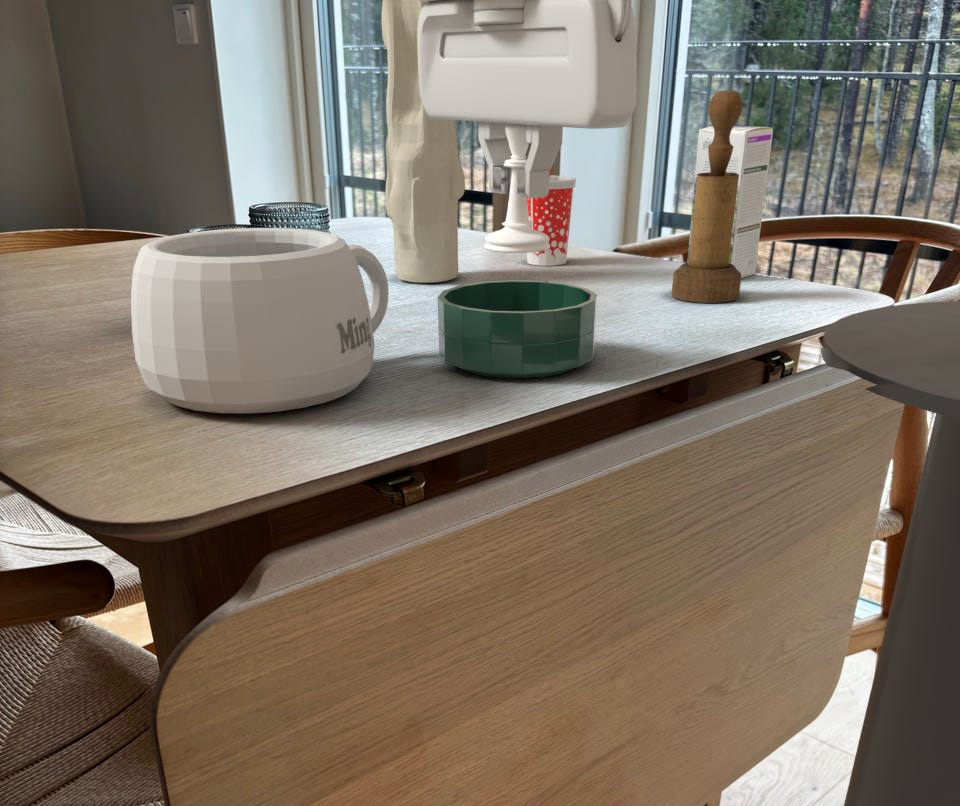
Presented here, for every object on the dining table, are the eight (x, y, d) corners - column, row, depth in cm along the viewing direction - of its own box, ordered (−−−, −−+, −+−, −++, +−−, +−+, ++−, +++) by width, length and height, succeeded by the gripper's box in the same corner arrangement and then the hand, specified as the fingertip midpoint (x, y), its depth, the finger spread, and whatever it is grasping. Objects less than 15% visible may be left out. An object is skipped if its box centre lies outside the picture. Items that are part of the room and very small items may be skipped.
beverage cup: (583, 262, 115) (589, 128, 108) (545, 268, 111) (549, 130, 104) (547, 256, 119) (551, 126, 112) (510, 261, 116) (511, 128, 108)
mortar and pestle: (683, 304, 94) (704, 91, 85) (662, 291, 100) (679, 89, 91) (749, 301, 95) (776, 90, 86) (724, 288, 101) (747, 89, 92)
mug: (240, 441, 61) (217, 273, 56) (96, 392, 70) (65, 244, 65) (466, 369, 75) (464, 230, 70) (321, 337, 84) (309, 211, 79)
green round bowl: (625, 364, 76) (629, 298, 73) (501, 392, 70) (502, 320, 67) (529, 335, 84) (530, 274, 82) (411, 357, 78) (409, 292, 76)
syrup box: (757, 274, 108) (776, 125, 100) (728, 282, 104) (746, 128, 97) (712, 268, 111) (727, 124, 104) (683, 275, 107) (697, 126, 100)
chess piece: (553, 243, 74) (558, 92, 69) (546, 253, 70) (550, 94, 65) (489, 241, 75) (490, 92, 70) (478, 252, 71) (478, 94, 66)
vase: (481, 278, 107) (479, -57, 92) (428, 290, 101) (417, -64, 86) (423, 269, 112) (413, -51, 97) (370, 280, 106) (350, -57, 91)
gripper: (670, -47, 58) (650, 205, 65) (471, -24, 73) (473, 180, 80) (590, -53, 55) (579, 213, 62) (399, -28, 69) (407, 186, 76)
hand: (518, 194), depth 71 cm, fingers closed on chess piece
